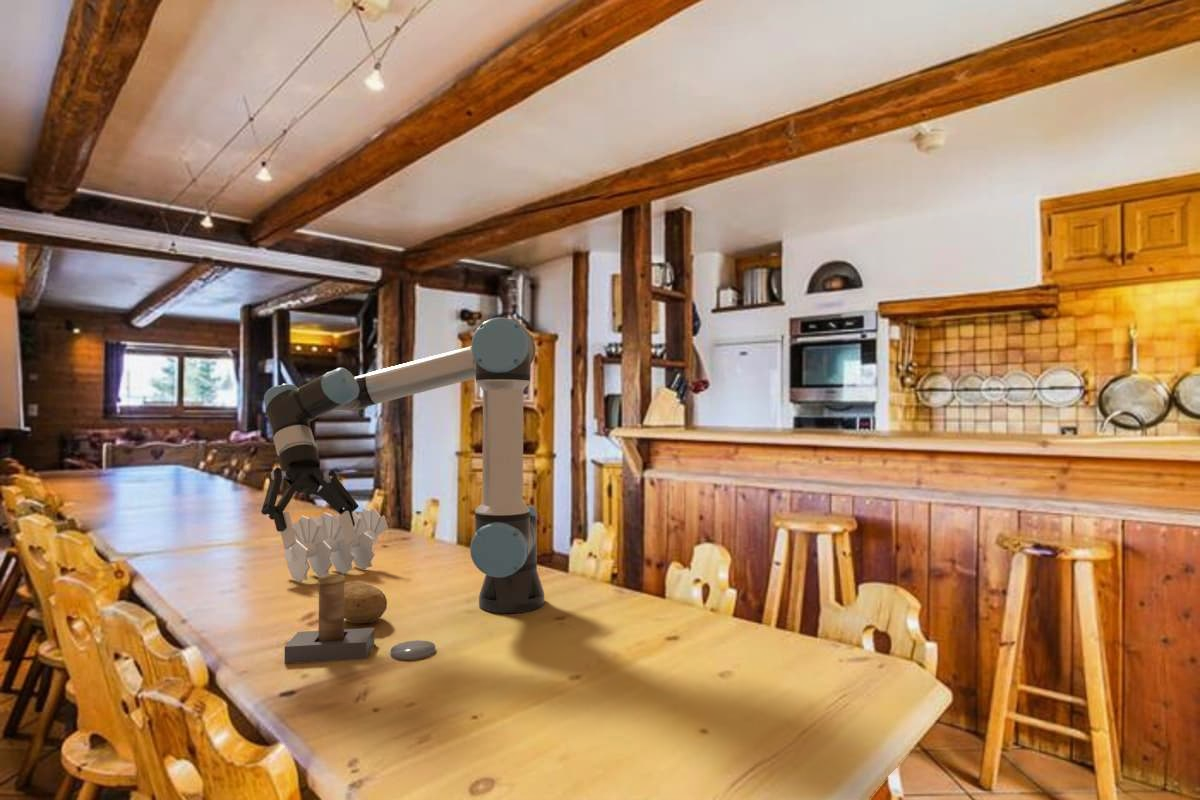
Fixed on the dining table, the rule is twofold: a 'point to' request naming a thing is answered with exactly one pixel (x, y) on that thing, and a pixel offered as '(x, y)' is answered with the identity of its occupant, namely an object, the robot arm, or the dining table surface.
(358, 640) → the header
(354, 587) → the potato
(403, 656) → the coaster
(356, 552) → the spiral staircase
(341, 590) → the plug
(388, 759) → the dining table surface
